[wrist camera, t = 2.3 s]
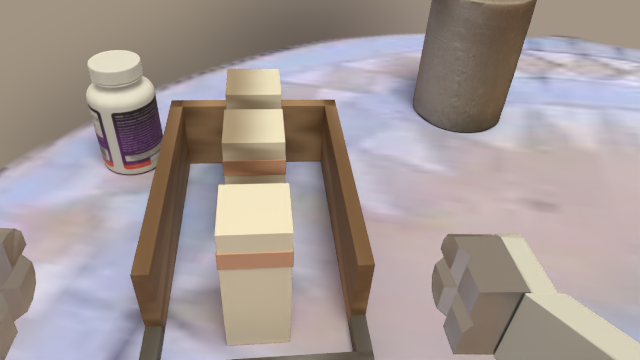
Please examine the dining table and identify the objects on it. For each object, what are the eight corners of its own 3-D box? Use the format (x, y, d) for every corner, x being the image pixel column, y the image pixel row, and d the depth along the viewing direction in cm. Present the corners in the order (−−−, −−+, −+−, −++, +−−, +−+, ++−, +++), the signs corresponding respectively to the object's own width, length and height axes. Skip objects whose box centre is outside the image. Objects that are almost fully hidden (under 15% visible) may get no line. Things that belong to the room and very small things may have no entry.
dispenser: (329, 154, 48) (338, 57, 42) (373, 370, 31) (398, 263, 24) (180, 156, 46) (165, 56, 40) (138, 387, 29) (100, 277, 23)
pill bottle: (175, 145, 48) (160, 50, 42) (151, 180, 44) (131, 80, 37) (121, 137, 48) (98, 42, 42) (93, 171, 44) (63, 71, 38)
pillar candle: (499, 96, 59) (540, -38, 49) (499, 141, 51) (548, -7, 42) (417, 82, 60) (441, -50, 51) (405, 124, 53) (431, -22, 44)
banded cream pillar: (287, 291, 35) (289, 182, 29) (290, 342, 32) (294, 233, 26) (228, 293, 35) (217, 184, 28) (225, 346, 32) (213, 236, 25)
